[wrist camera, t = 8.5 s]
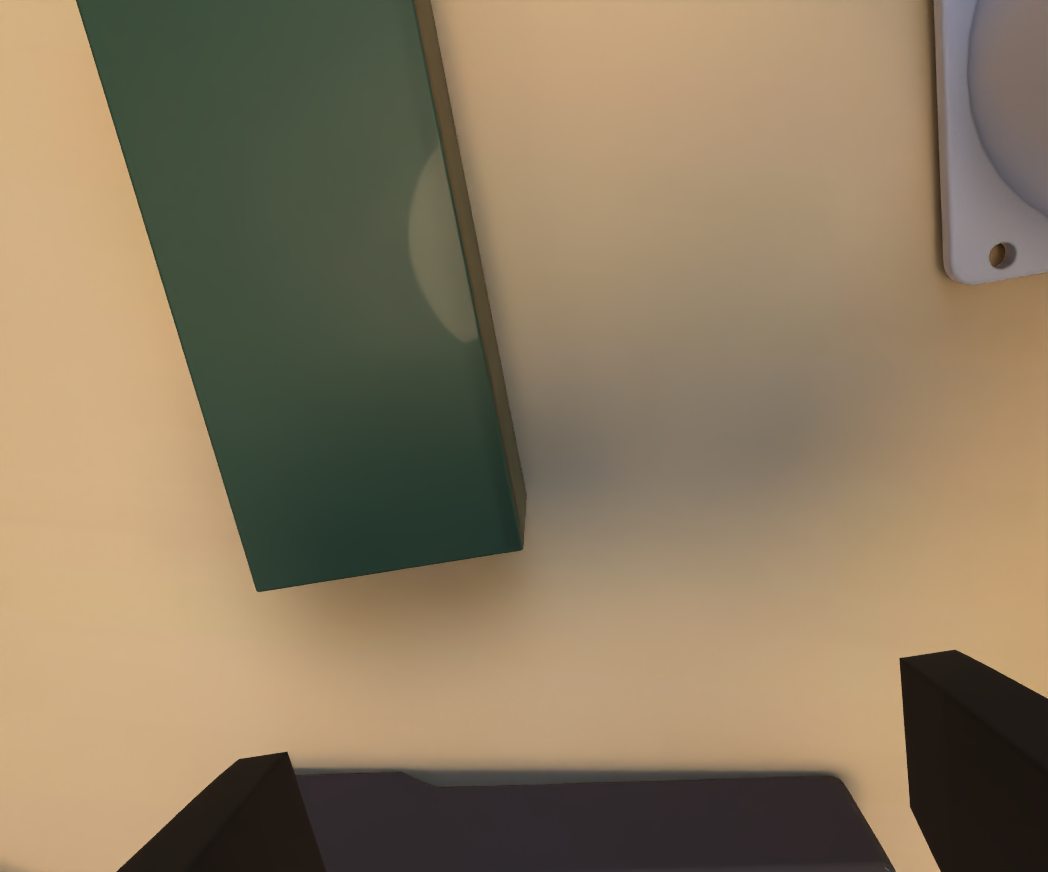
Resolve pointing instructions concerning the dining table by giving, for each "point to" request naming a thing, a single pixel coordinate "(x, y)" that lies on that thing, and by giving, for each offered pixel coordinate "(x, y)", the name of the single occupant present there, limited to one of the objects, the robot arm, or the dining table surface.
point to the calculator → (589, 826)
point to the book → (319, 275)
